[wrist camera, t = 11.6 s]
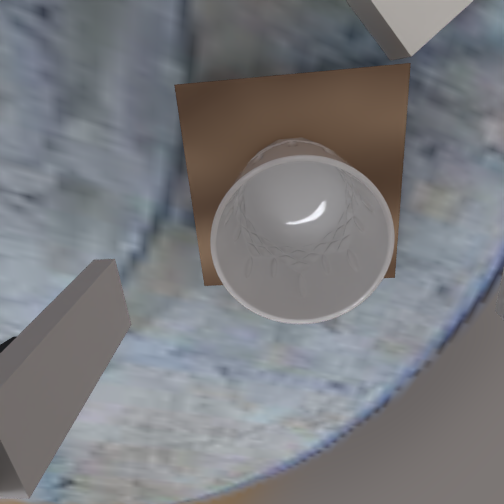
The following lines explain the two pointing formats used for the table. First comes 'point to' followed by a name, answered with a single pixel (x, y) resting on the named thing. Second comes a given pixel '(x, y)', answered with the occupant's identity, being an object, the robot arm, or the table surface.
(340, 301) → the white cup
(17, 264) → the table surface
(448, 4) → the pale block
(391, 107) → the walnut block
